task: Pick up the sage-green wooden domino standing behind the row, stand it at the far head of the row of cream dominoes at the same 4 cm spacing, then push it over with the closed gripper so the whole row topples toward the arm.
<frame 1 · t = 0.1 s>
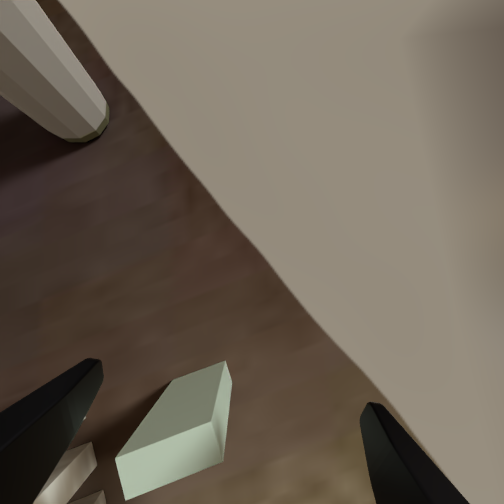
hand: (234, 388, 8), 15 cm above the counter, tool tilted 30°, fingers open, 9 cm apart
bottle: (83, 119, 25), on the counter
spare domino: (202, 381, 22), on the counter
domino 3: (65, 464, 21), on the counter
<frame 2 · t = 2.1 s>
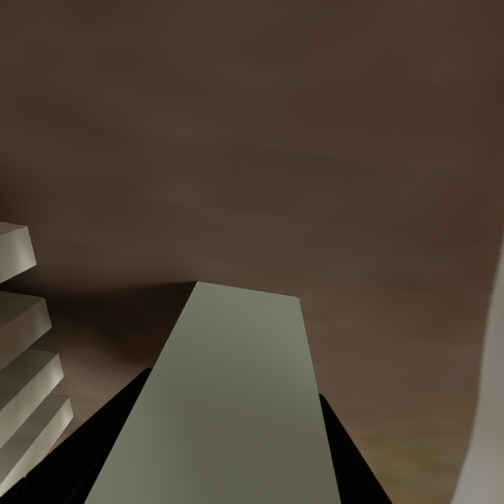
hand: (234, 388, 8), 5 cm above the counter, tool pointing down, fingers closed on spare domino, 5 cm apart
domino 4: (20, 358, 15), on the counter
end domino: (34, 401, 16), on the counter
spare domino: (245, 305, 12), on the counter, touching gripper
domino 3: (2, 305, 13), on the counter
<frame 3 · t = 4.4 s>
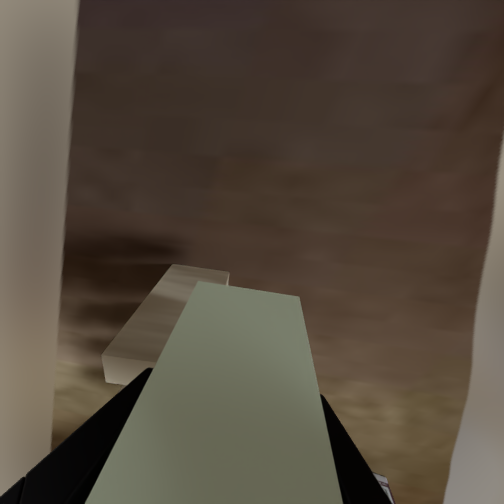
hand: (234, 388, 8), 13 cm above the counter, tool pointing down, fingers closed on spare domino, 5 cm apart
domino 2: (200, 277, 22), on the counter
supplement box: (353, 483, 34), on the counter
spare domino: (245, 305, 12), point 8 cm above the counter, touching gripper
when the fingers open (5 cm above the counter, at t = 6.6 s): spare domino stays where it is, on the counter.
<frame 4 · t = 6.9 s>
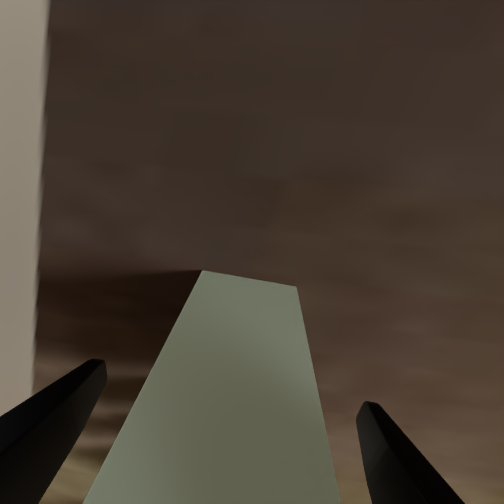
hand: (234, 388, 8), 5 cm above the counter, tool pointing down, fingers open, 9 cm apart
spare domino: (246, 294, 13), on the counter
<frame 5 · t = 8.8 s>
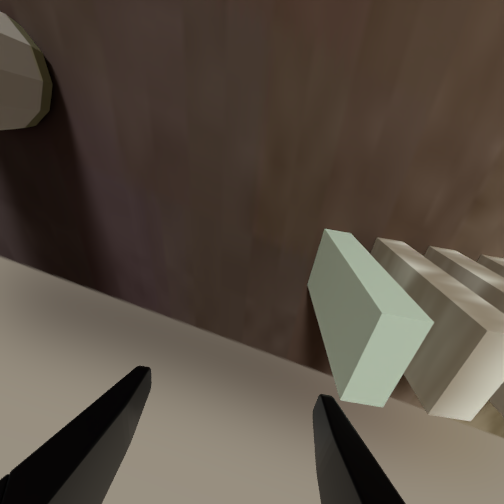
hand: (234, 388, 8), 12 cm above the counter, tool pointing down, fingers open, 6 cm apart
domino 2: (377, 268, 19), on the counter
bottle: (13, 76, 16), on the counter
domino 4: (476, 284, 19), on the counter
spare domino: (327, 260, 19), on the counter
domino 3: (427, 276, 19), on the counter
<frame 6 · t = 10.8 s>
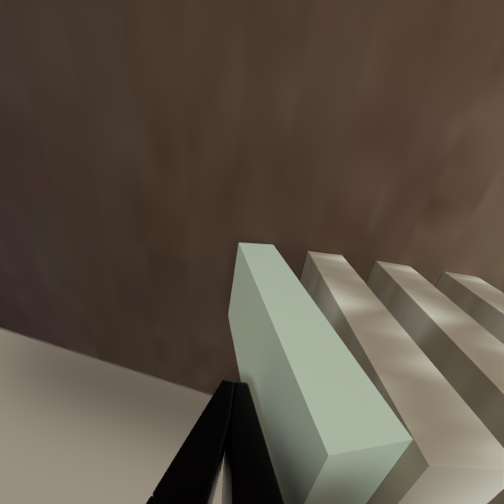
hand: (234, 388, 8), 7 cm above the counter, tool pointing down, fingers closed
domino 2: (313, 289, 15), on the counter
domino 4: (440, 309, 15), on the counter
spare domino: (249, 281, 15), on the counter, tilted 15°
domino 3: (377, 299, 15), on the counter
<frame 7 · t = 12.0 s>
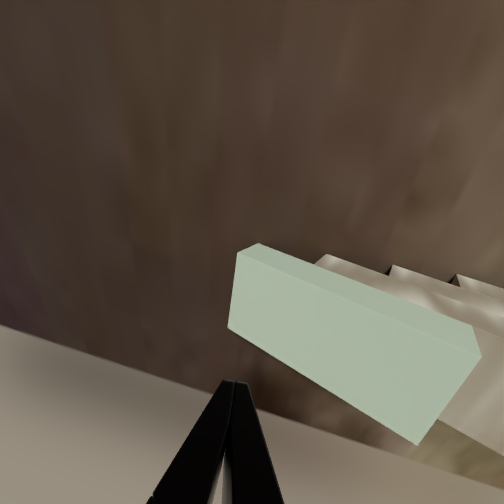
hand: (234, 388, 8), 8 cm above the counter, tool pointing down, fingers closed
domino 2: (309, 296, 14), point 1 cm above the counter, tilted 59°, touching domino 3, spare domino
domino 4: (437, 316, 14), point 1 cm above the counter, tilted 59°, touching domino 3, end domino
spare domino: (242, 286, 14), point 1 cm above the counter, tilted 59°, touching domino 2
domino 3: (375, 307, 14), point 1 cm above the counter, tilted 59°, touching domino 2, domino 4
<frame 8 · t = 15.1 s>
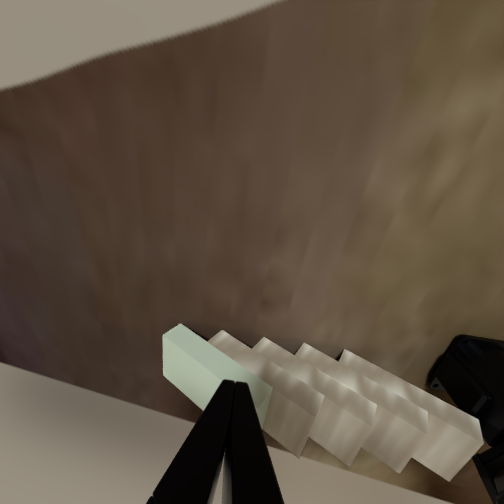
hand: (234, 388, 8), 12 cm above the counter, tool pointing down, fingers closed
domino 2: (212, 355, 23), point 1 cm above the counter, tilted 59°, touching domino 3, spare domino
domino 4: (293, 368, 23), point 1 cm above the counter, tilted 59°, touching domino 3, end domino
end domino: (333, 374, 23), point 1 cm above the counter, tilted 59°, touching arm, domino 4
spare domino: (171, 349, 23), point 1 cm above the counter, tilted 59°, touching domino 2
domino 3: (253, 362, 23), point 1 cm above the counter, tilted 59°, touching domino 2, domino 4
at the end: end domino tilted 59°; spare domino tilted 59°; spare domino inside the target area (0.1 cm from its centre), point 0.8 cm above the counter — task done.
